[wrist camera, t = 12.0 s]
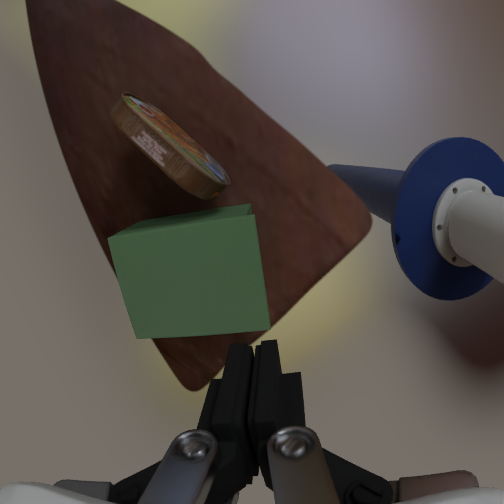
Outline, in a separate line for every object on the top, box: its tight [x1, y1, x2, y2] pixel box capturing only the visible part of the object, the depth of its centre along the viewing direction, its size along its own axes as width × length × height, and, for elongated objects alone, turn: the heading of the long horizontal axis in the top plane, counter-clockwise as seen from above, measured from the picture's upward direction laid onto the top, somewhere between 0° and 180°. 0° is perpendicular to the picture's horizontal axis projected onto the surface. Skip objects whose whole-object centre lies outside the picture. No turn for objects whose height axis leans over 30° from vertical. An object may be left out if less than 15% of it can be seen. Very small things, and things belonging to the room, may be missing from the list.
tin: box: [110, 92, 231, 200], centre depth 29 cm, size 15×3×8 cm, turn 46°
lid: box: [108, 214, 271, 339], centre depth 29 cm, size 14×11×1 cm
